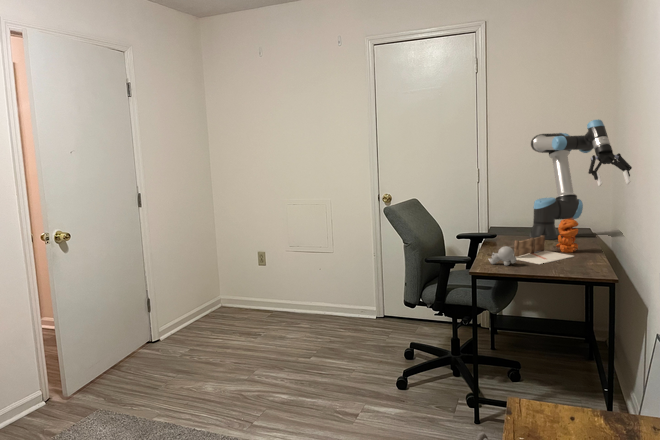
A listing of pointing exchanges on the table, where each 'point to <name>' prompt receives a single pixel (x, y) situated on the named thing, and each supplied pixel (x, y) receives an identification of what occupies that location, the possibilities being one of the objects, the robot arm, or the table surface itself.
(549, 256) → the card
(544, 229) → the robot arm
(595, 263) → the table surface
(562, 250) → the toy dinosaur
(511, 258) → the toy rhinoceros
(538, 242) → the fence fixed
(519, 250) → the fence gate
